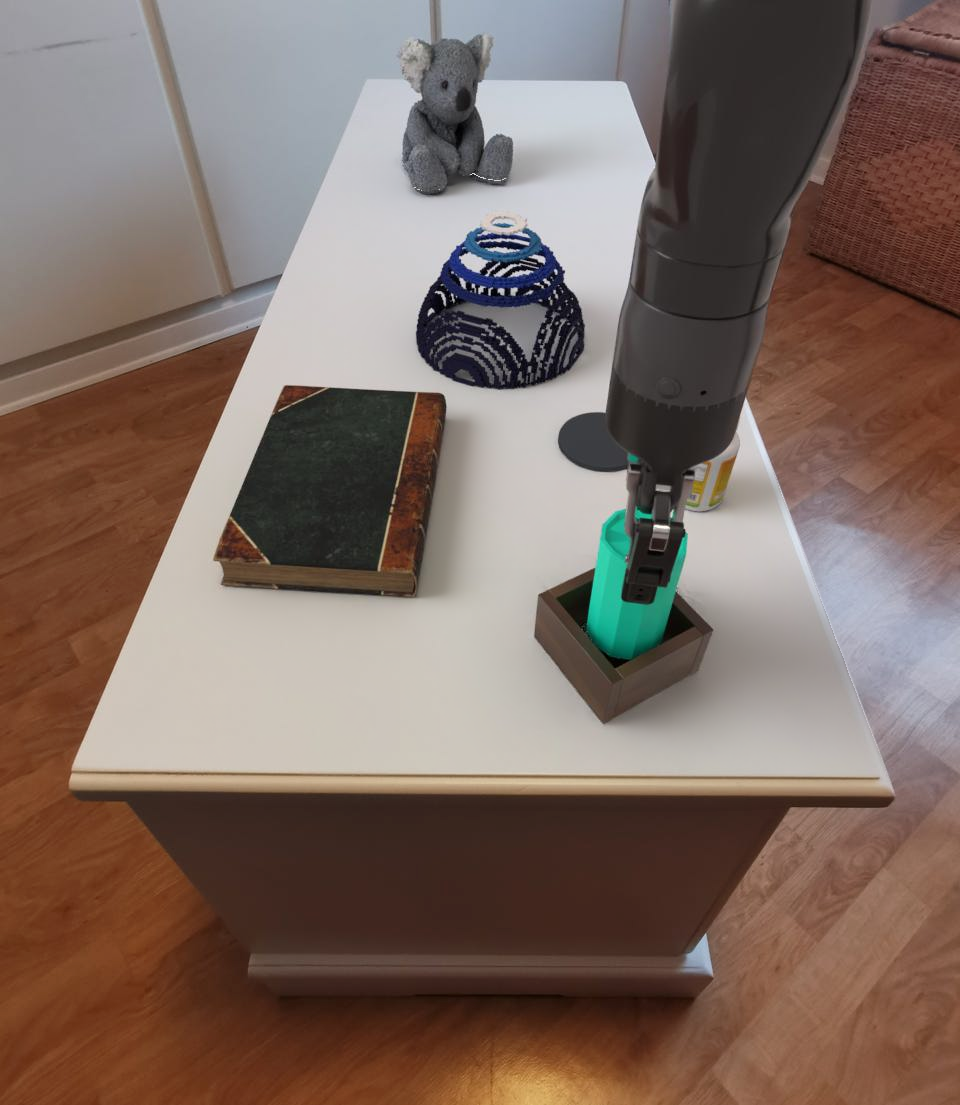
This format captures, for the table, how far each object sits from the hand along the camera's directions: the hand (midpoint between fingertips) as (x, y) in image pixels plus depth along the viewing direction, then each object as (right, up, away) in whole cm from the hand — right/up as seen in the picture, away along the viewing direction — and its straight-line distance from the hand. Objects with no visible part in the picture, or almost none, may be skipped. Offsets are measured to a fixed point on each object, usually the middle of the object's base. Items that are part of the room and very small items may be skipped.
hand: (638, 563), depth 55 cm
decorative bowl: (-9, +27, +39) cm, 48 cm away
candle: (0, -5, +6) cm, 8 cm away
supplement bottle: (+10, +6, +21) cm, 24 cm away
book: (-24, +6, +21) cm, 33 cm away
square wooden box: (0, -7, +8) cm, 11 cm away
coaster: (+1, +12, +26) cm, 29 cm away
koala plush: (-16, +64, +73) cm, 98 cm away
